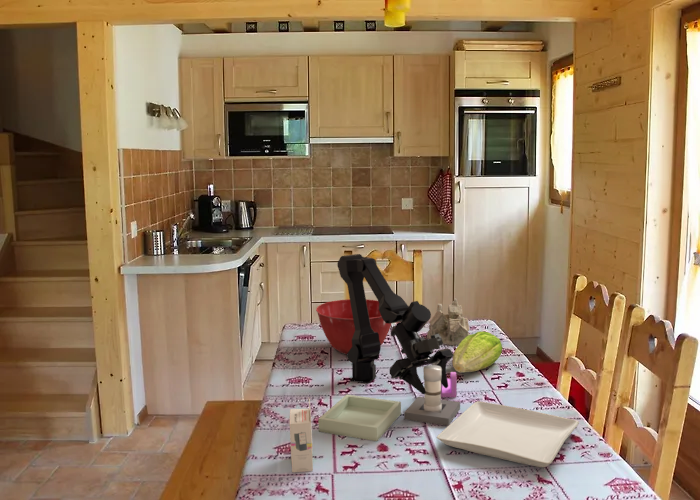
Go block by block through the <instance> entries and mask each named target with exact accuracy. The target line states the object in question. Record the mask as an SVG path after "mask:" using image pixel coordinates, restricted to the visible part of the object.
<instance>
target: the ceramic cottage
mask: <svg viewBox="0 0 700 500" xmlns="http://www.w3.org/2000/svg"><path fill="white" fill-rule="evenodd" d="M442 304H443V303H437V308H436V313H435V314H434V316H433V317H431V318H430V319H429V321H428V324H429V326H428V329H429V330H427V334H426V339H431V336H432V335H435V334H439V335H440V337H441V338H442V341H443V344H444V345H447V346H458V345H459V344H460V343H461V341H462V340H463V339H465V338H466V337H467V336H468V335H471V334H470V333H469V331H470V325H469V319H468V317H467V318H465V317H464V316H463V307H462V304H460V305H459V302H458V299H457V298H454V299H453V301H452V302H451V304H449V305H448V308H447V309H448V311H447V313H448V314H444V313H443V305H442Z"/></svg>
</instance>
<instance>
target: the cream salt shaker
mask: <svg viewBox="0 0 700 500" xmlns="http://www.w3.org/2000/svg"><path fill="white" fill-rule="evenodd" d="M422 369H423V373H422V374H423V381H424V382H423V386H424V388H425V391H426V393H425V394H423V395H424V410H425V411H432V412H439V413H441V411H442V403H441V400H442V397H441V379H442V368H441V367H440V366H437V365H432V364H428V365H424V366H423V368H422Z"/></svg>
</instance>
